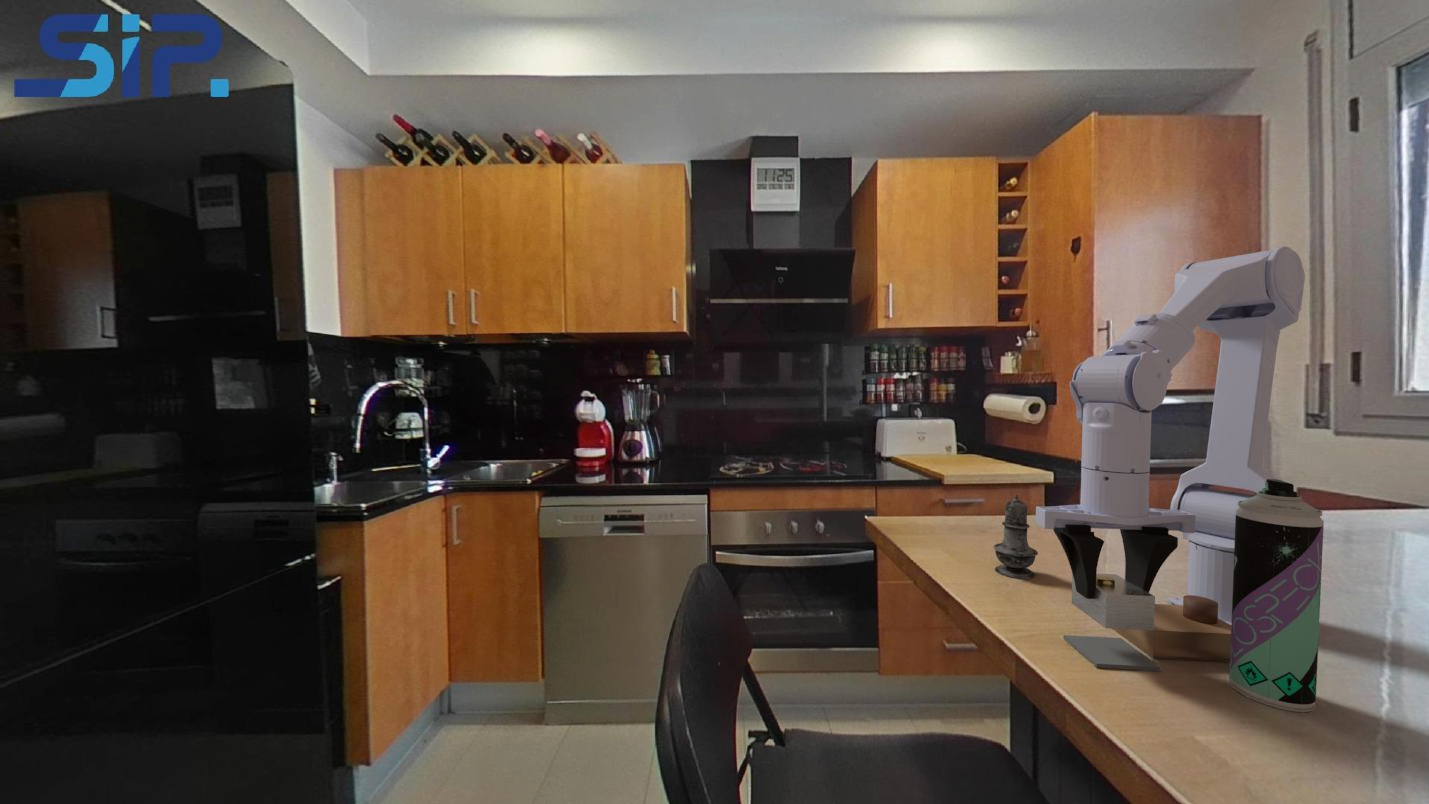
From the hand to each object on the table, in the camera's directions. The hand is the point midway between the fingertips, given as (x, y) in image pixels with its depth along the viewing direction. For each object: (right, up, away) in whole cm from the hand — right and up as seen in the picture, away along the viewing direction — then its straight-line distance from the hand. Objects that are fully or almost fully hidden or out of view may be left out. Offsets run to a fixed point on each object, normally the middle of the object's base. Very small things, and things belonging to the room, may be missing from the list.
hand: (1110, 596), depth 55 cm
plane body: (+9, -6, +2) cm, 11 cm away
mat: (0, -6, 0) cm, 6 cm away
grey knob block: (0, -2, 0) cm, 2 cm away
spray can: (+10, -7, -7) cm, 14 cm away
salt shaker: (+4, -6, +24) cm, 25 cm away
